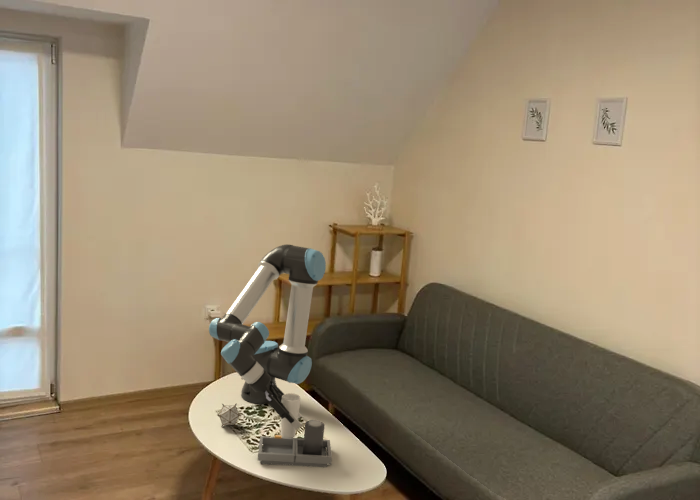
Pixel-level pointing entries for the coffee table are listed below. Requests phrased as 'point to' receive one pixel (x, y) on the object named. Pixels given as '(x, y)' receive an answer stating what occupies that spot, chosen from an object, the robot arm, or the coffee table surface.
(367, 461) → the coffee table surface
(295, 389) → the coffee table surface
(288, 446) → the divided desk organizer
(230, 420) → the game die
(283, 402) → the drinking glass
